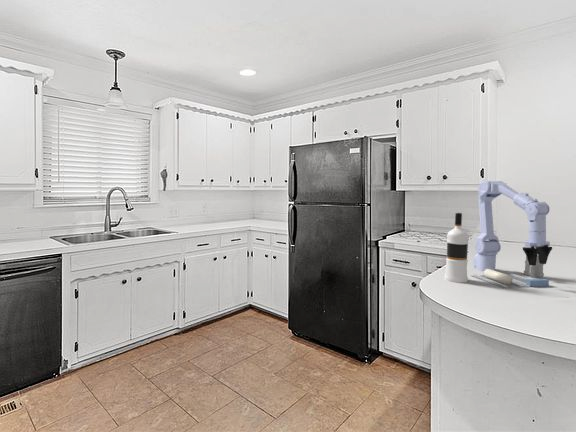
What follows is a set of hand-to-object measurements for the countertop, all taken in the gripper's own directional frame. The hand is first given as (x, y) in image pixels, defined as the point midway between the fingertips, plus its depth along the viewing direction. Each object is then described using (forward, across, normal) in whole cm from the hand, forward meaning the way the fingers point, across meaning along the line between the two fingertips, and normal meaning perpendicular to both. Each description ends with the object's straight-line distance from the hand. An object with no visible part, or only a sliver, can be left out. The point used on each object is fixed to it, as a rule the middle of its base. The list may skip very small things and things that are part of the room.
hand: (537, 264), depth 142 cm
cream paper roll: (+8, -9, +11) cm, 16 cm away
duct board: (+9, -4, +10) cm, 13 cm away
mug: (+9, +16, +10) cm, 21 cm away
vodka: (+8, -23, +21) cm, 32 cm away
